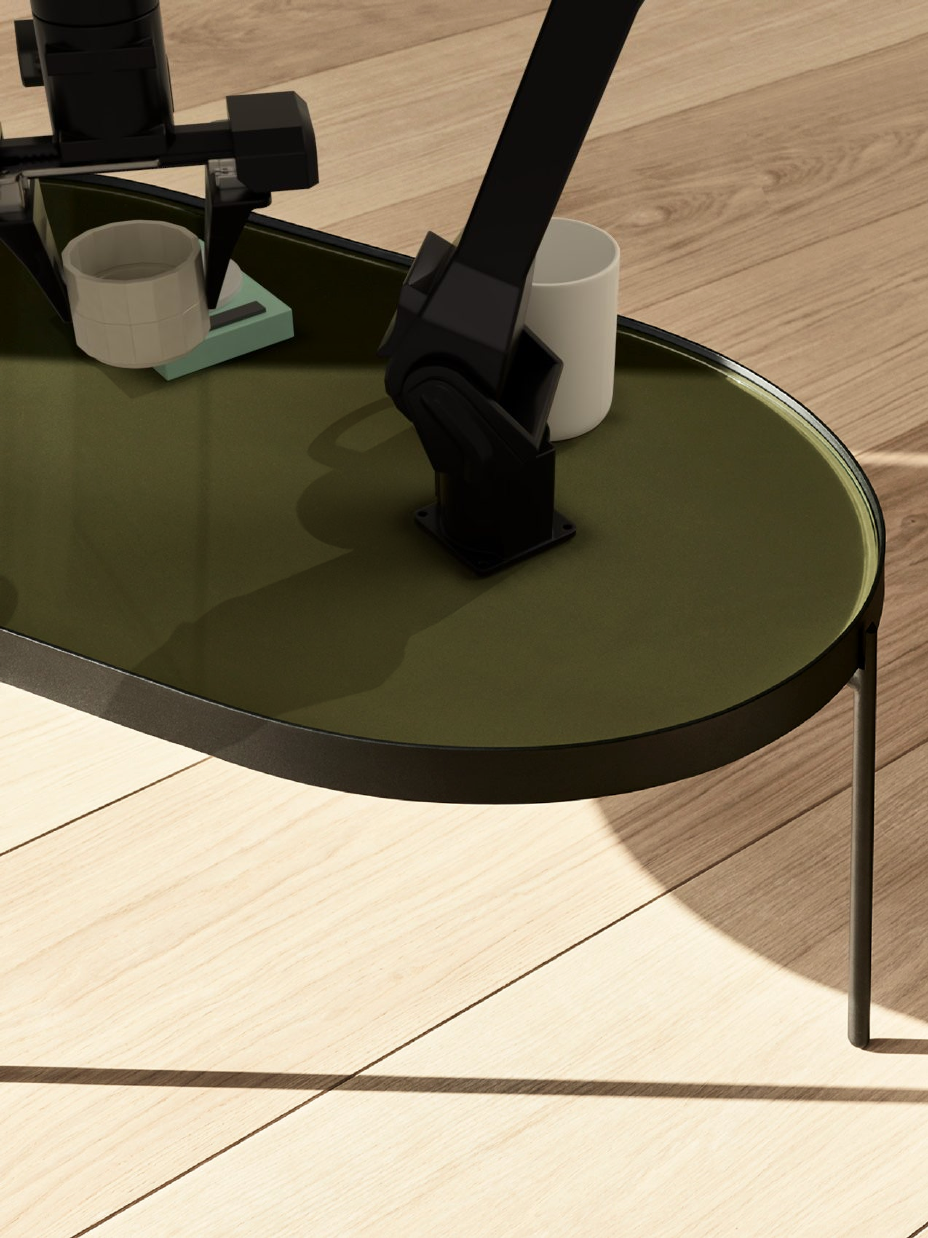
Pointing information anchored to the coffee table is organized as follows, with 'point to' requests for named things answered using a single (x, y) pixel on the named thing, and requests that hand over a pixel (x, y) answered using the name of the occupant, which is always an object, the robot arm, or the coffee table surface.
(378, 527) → the coffee table surface
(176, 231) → the bowl
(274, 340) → the scale
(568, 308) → the cup
